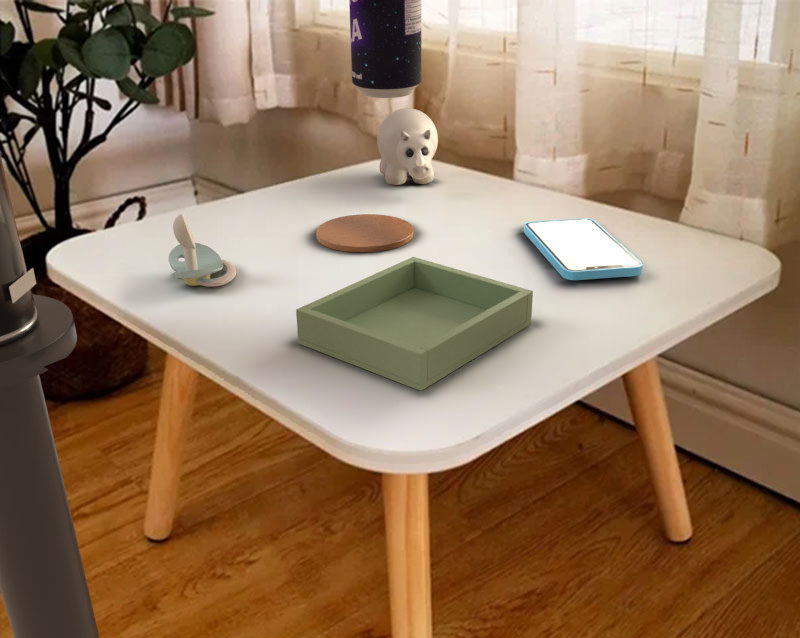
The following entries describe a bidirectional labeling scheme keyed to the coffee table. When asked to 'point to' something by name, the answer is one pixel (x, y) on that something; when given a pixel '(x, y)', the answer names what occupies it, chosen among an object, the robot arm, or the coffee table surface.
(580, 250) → the smartphone
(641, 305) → the coffee table surface
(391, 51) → the beverage can
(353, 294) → the tray
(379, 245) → the coaster
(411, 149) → the round bodied animal figurine
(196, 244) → the pacifier
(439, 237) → the coffee table surface
